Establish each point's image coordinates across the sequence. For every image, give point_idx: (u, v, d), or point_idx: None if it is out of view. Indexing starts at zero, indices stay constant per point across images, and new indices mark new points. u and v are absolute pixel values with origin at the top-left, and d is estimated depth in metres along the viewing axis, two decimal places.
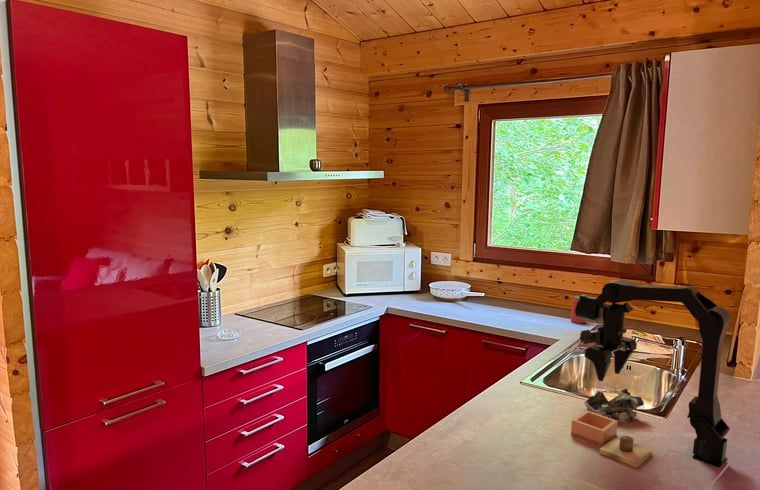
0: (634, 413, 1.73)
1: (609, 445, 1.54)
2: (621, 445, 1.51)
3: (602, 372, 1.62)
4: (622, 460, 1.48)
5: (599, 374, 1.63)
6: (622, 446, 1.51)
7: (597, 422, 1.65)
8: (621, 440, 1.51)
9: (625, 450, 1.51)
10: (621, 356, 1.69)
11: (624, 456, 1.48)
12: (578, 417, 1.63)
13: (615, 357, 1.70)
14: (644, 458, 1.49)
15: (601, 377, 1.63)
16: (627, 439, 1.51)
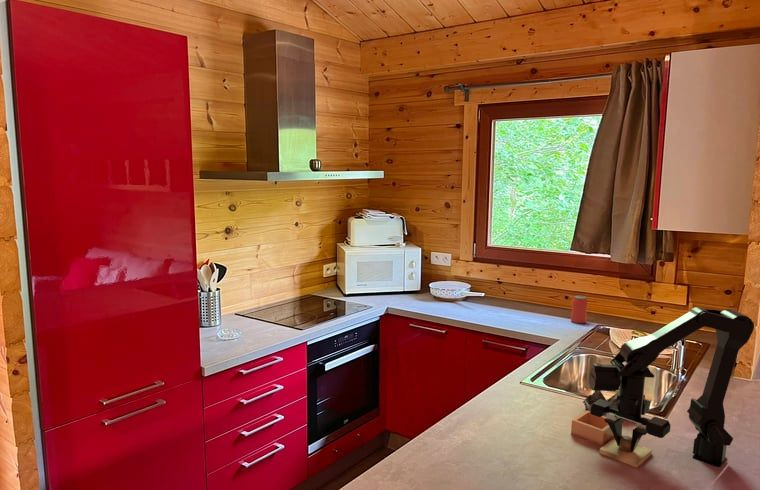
0: None
1: (609, 445, 1.54)
2: (621, 445, 1.51)
3: None
4: (622, 460, 1.48)
5: None
6: (622, 446, 1.51)
7: (597, 422, 1.65)
8: (621, 440, 1.51)
9: (625, 450, 1.51)
10: None
11: (624, 456, 1.48)
12: (578, 417, 1.63)
13: None
14: (644, 458, 1.49)
15: None
16: (627, 439, 1.51)
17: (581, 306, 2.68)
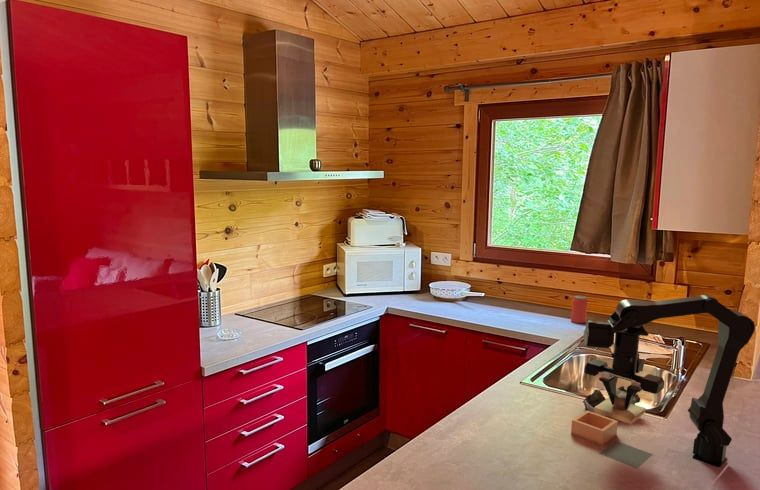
0: None
1: (604, 404, 1.54)
2: (615, 403, 1.52)
3: None
4: (616, 417, 1.49)
5: None
6: (616, 404, 1.52)
7: (597, 422, 1.65)
8: (615, 398, 1.52)
9: (619, 408, 1.51)
10: None
11: (618, 413, 1.49)
12: (578, 417, 1.63)
13: None
14: (638, 416, 1.50)
15: None
16: (621, 397, 1.52)
17: (581, 306, 2.68)
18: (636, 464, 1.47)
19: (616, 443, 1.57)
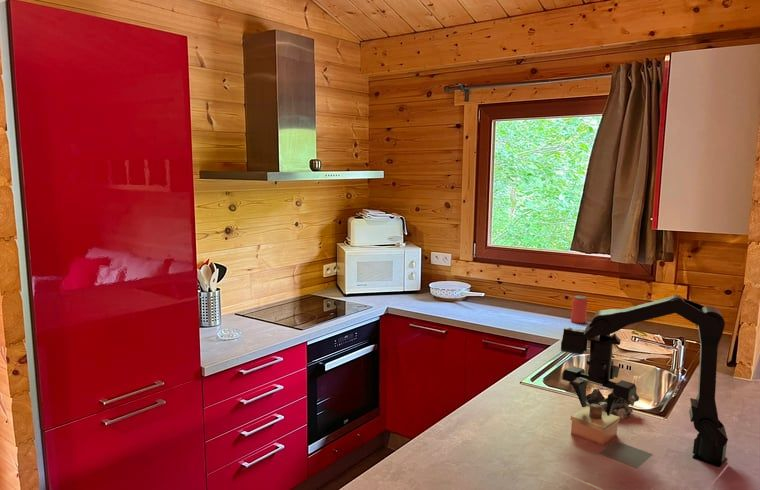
0: (630, 409, 1.76)
1: (580, 413, 1.63)
2: (591, 412, 1.61)
3: None
4: (591, 426, 1.57)
5: None
6: (591, 413, 1.60)
7: None
8: (591, 408, 1.61)
9: (594, 417, 1.60)
10: None
11: (593, 422, 1.58)
12: None
13: None
14: (612, 424, 1.58)
15: None
16: (596, 407, 1.60)
17: (581, 306, 2.68)
18: (636, 464, 1.47)
19: (616, 443, 1.57)
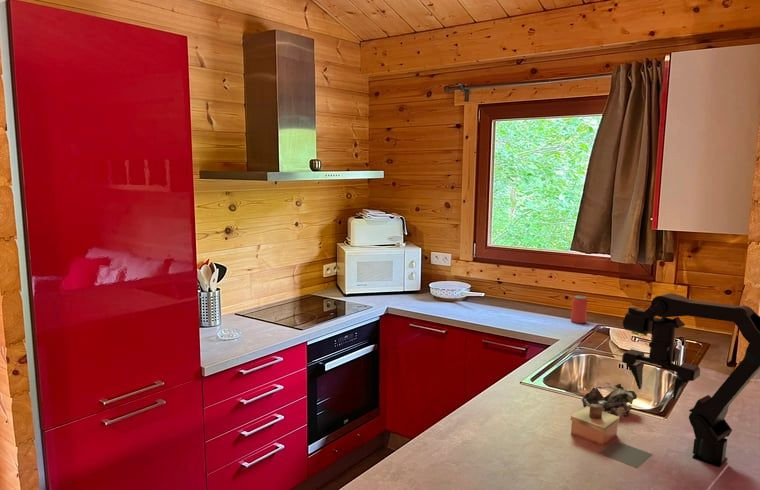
0: (629, 407, 1.77)
1: (580, 413, 1.63)
2: (591, 412, 1.61)
3: None
4: (591, 426, 1.57)
5: None
6: (591, 413, 1.60)
7: None
8: (591, 408, 1.61)
9: (594, 417, 1.60)
10: None
11: (593, 422, 1.58)
12: None
13: None
14: (612, 424, 1.58)
15: None
16: (596, 407, 1.60)
17: (581, 306, 2.68)
18: (636, 464, 1.47)
19: (616, 443, 1.57)
